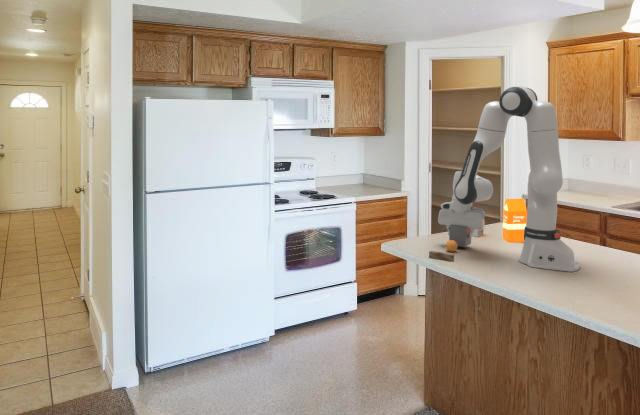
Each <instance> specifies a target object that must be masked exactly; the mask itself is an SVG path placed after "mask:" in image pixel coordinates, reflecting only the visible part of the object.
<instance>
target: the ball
mask: <svg viewBox="0 0 640 415" xmlns="http://www.w3.org/2000/svg"><path fill="white" fill-rule="evenodd" d="M458 247H459V246H458V245H457V243H456V242H455V241H454V240H450V241H449V240H448V241H447V242H446V243H445V248H446V250H447V251H448V252H450V253H452V252H455V251H457V249H458Z"/></svg>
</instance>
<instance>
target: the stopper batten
mask: <svg viewBox="0 0 640 415" xmlns="http://www.w3.org/2000/svg"><path fill="white" fill-rule="evenodd" d="M428 258H431V259H435V260H442V261H447V262H454V261H455V254H454V253H448V252H442V251H437V250H429V251H428Z"/></svg>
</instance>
